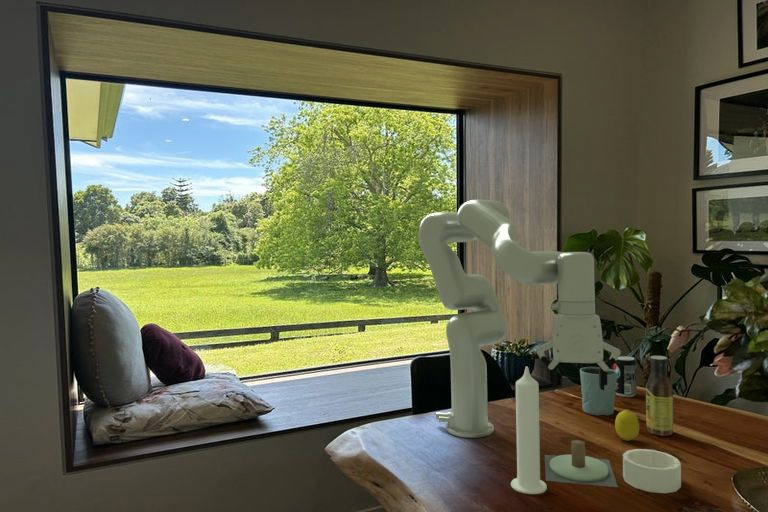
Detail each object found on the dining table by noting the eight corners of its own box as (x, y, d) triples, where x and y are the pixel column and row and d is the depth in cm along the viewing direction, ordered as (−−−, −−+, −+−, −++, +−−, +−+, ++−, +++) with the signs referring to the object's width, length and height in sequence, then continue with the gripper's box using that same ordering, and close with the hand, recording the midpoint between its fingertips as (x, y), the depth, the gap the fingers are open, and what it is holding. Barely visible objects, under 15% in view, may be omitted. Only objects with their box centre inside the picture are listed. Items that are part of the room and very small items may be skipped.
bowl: (628, 491, 108) (627, 466, 108) (620, 470, 118) (620, 447, 118) (686, 497, 105) (686, 471, 105) (672, 474, 115) (672, 451, 115)
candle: (540, 479, 114) (538, 362, 114) (551, 495, 107) (549, 370, 107) (507, 480, 114) (505, 363, 113) (516, 496, 107) (514, 371, 106)
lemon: (642, 446, 131) (641, 413, 131) (617, 445, 132) (617, 412, 132) (636, 438, 137) (635, 406, 136) (612, 436, 138) (612, 405, 137)
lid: (550, 478, 113) (550, 450, 113) (549, 456, 125) (548, 431, 125) (612, 484, 110) (611, 455, 110) (604, 461, 122) (604, 434, 122)
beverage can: (613, 391, 179) (613, 355, 178) (635, 393, 176) (635, 356, 176) (614, 396, 172) (613, 359, 172) (637, 398, 170) (636, 360, 170)
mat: (545, 482, 113) (545, 480, 113) (544, 456, 126) (544, 454, 126) (618, 489, 109) (618, 487, 109) (608, 461, 123) (608, 459, 123)
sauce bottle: (649, 427, 144) (649, 353, 144) (675, 431, 140) (675, 355, 140) (643, 434, 139) (642, 357, 139) (670, 439, 135) (669, 360, 135)
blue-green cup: (573, 408, 162) (572, 368, 162) (601, 404, 165) (600, 365, 165) (596, 418, 152) (595, 376, 152) (625, 414, 155) (625, 372, 155)
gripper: (535, 310, 116) (536, 390, 116) (622, 311, 111) (623, 394, 111) (534, 306, 123) (536, 381, 123) (616, 307, 118) (618, 384, 119)
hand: (578, 387), depth 117 cm, fingers open, 9 cm apart
